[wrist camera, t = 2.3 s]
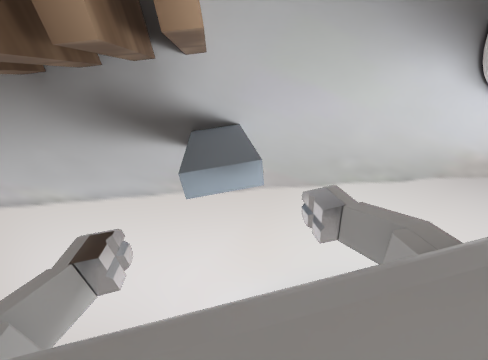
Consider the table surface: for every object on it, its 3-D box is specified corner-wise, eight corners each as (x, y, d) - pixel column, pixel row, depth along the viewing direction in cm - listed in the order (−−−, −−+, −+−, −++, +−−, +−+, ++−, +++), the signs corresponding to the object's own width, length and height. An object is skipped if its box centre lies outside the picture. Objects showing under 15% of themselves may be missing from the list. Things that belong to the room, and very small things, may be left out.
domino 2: (132, -21, 14) (18, -169, 6) (155, 58, 17) (98, 39, 8) (107, -19, 14) (-51, -168, 6) (133, 60, 17) (52, 44, 8)
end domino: (191, 131, 20) (178, 173, 11) (239, 124, 21) (262, 159, 12) (195, 148, 21) (186, 199, 12) (241, 140, 21) (263, 185, 13)
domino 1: (69, -16, 14) (-158, -167, 5) (101, 64, 16) (-19, 51, 8) (43, -14, 14) (-236, -164, 5) (79, 67, 16) (-70, 57, 8)
